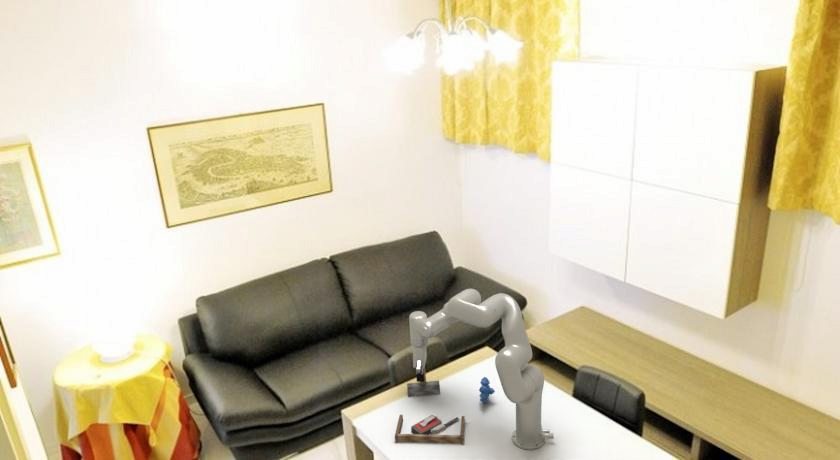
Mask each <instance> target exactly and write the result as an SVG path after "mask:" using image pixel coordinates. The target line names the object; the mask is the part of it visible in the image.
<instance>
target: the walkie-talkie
mask: <svg viewBox="0 0 840 460" xmlns="http://www.w3.org/2000/svg"><path fill="white" fill-rule="evenodd" d="M458 420H459V417H458V416H457V417H455V418H453V419H452V420H449V421H448V422H446V423H444V424H443V422H442V420H441V419H440V418H439V417H438V416H435V415H433V414H431V415H429V416H428V417H425V418H424V419H422V420H420V421H419V422H416V423H415V424H413V425H412V426H411V427H410V429H411V434H426V435H439V434H440V433H441V432H443V431H445V430H446V428H447V427H448V426H450V425H452V423H454V422H456V421H458Z"/></svg>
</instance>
